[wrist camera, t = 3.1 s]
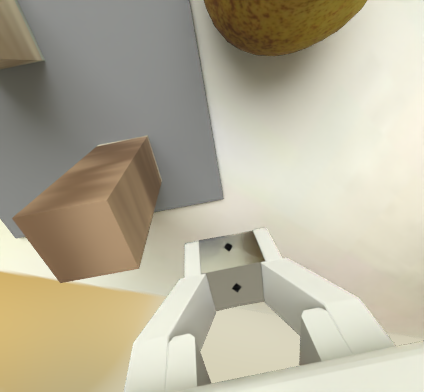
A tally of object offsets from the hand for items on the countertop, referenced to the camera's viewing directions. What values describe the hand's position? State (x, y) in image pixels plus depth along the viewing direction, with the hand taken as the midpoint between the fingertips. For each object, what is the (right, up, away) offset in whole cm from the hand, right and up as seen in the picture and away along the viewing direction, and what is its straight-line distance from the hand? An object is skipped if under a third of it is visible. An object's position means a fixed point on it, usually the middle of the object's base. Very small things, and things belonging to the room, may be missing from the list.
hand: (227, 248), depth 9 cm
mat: (-11, +8, +9) cm, 16 cm away
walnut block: (-7, +5, +11) cm, 14 cm away
